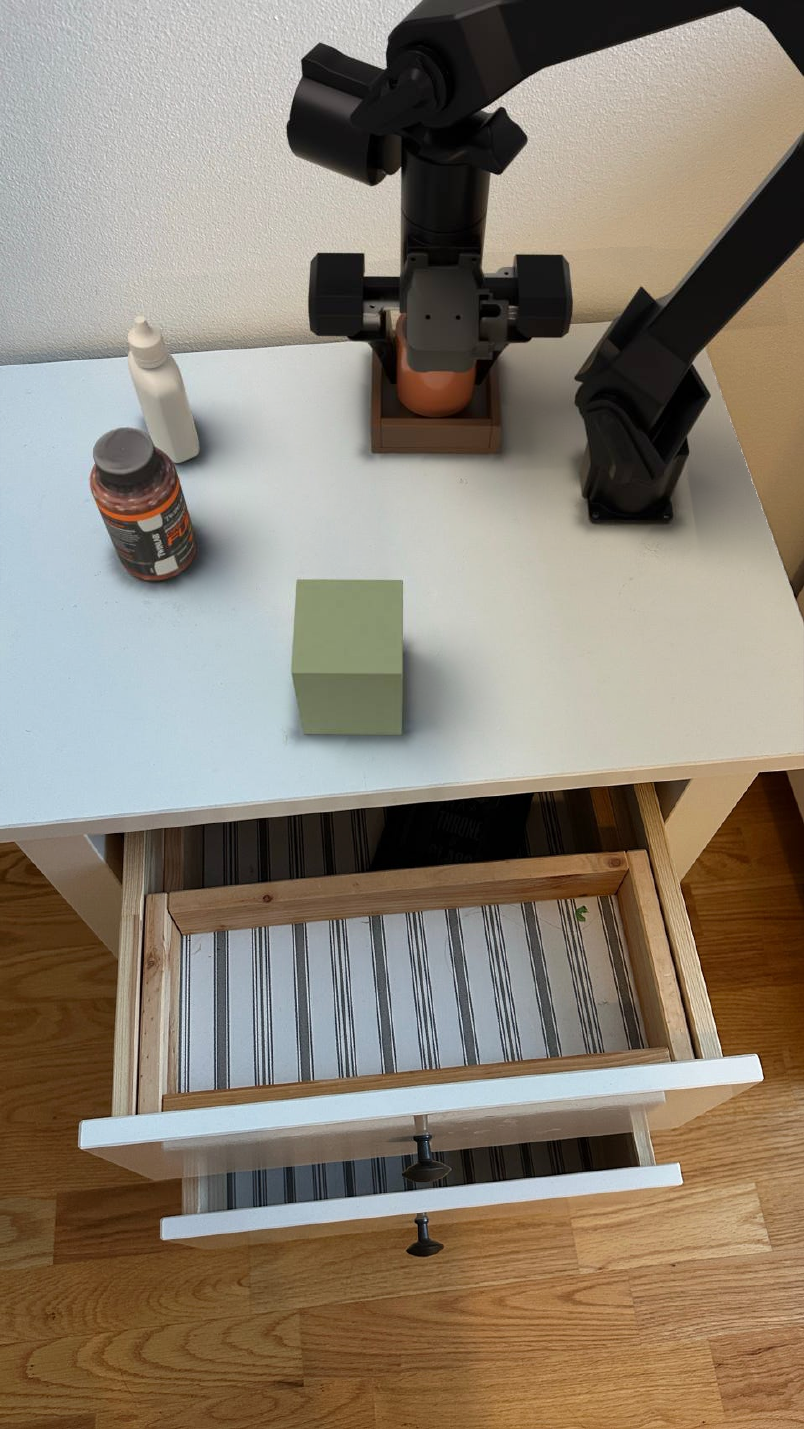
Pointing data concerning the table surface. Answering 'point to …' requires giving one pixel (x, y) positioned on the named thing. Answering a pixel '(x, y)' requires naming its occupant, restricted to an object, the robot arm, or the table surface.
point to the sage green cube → (348, 656)
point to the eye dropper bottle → (161, 393)
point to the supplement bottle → (142, 505)
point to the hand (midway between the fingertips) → (435, 380)
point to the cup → (430, 383)
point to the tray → (434, 420)
